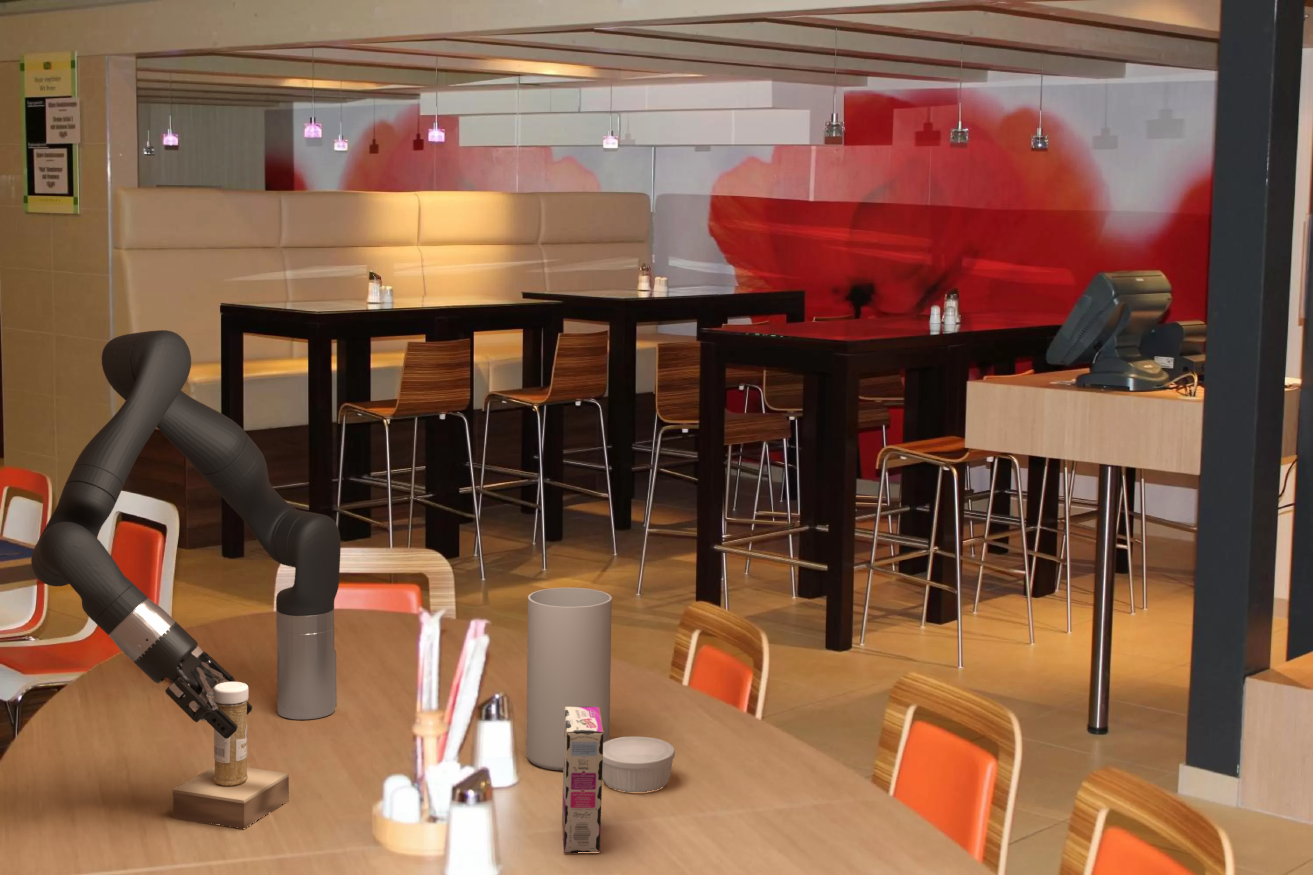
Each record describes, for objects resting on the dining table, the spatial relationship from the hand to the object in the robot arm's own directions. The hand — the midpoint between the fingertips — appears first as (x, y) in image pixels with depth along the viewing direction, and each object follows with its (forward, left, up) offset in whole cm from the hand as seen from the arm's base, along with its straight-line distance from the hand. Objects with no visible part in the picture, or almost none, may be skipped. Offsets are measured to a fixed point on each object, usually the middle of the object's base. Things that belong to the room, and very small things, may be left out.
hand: (240, 723), depth 210 cm
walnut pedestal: (0, -1, -12) cm, 12 cm away
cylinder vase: (-36, +34, -12) cm, 51 cm away
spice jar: (+1, -1, -8) cm, 8 cm away
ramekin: (-30, +47, -13) cm, 57 cm away
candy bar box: (-8, +47, -12) cm, 49 cm away
